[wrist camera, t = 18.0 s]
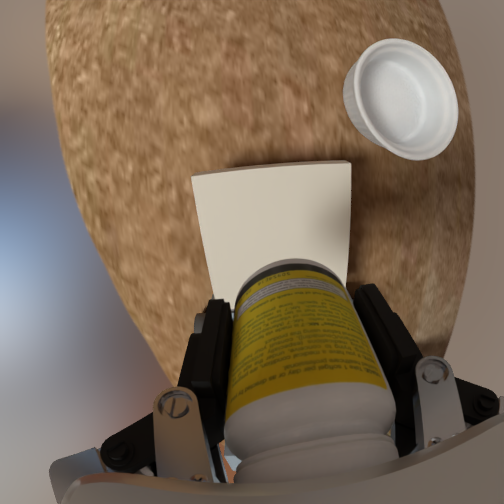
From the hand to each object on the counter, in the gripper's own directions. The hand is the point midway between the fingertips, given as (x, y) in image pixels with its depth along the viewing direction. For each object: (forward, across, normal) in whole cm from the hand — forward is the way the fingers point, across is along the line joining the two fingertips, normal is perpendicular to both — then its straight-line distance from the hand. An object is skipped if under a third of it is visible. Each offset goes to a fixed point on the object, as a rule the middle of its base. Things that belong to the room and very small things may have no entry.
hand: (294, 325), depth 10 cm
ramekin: (+13, -10, -10) cm, 19 cm away
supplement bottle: (+1, 0, 0) cm, 1 cm away
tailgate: (+10, 0, +6) cm, 11 cm away
